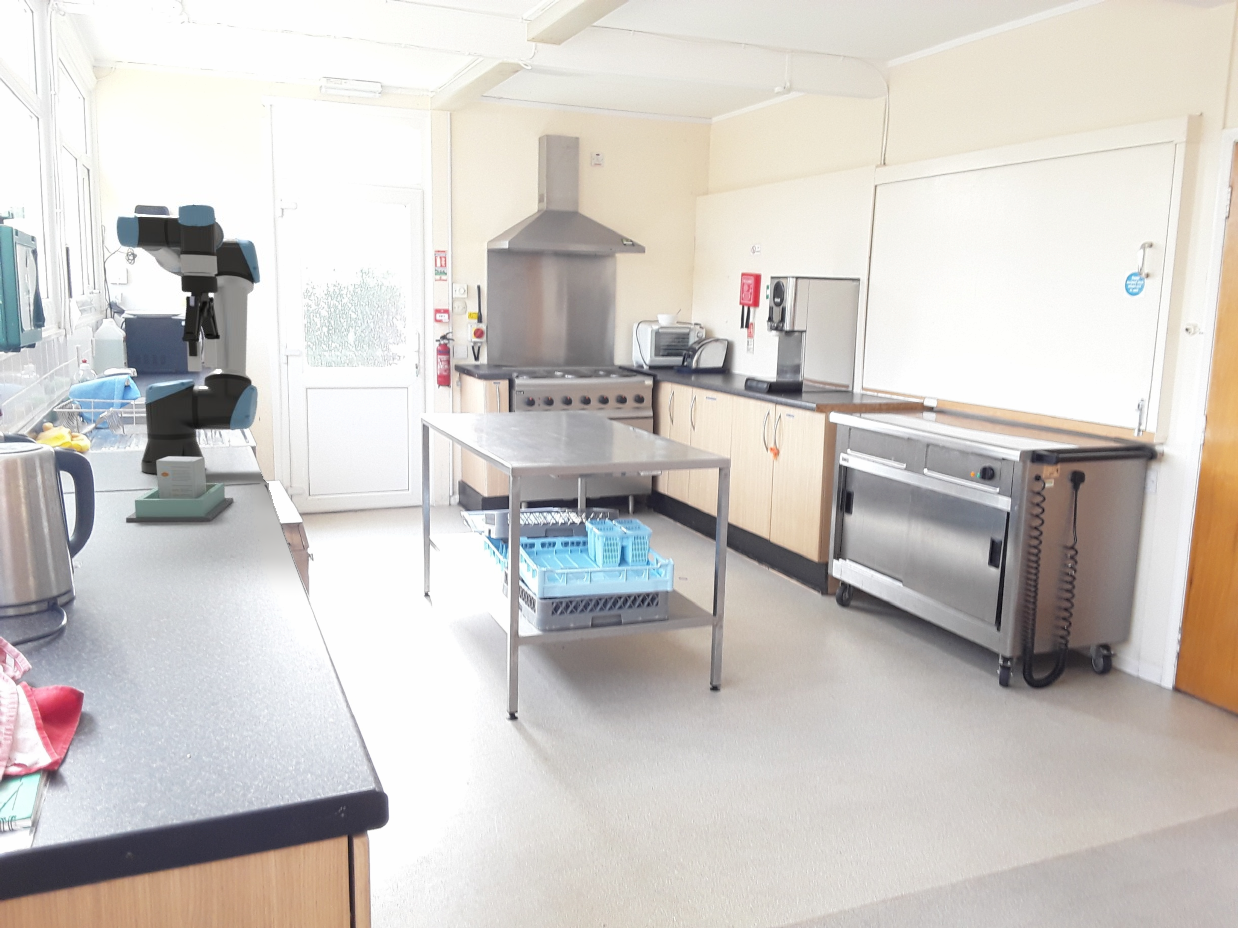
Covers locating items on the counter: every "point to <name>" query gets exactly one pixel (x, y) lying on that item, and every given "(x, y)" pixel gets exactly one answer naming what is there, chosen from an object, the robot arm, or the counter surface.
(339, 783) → the counter surface
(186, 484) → the small box
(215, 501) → the caddy
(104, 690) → the counter surface
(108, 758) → the counter surface
